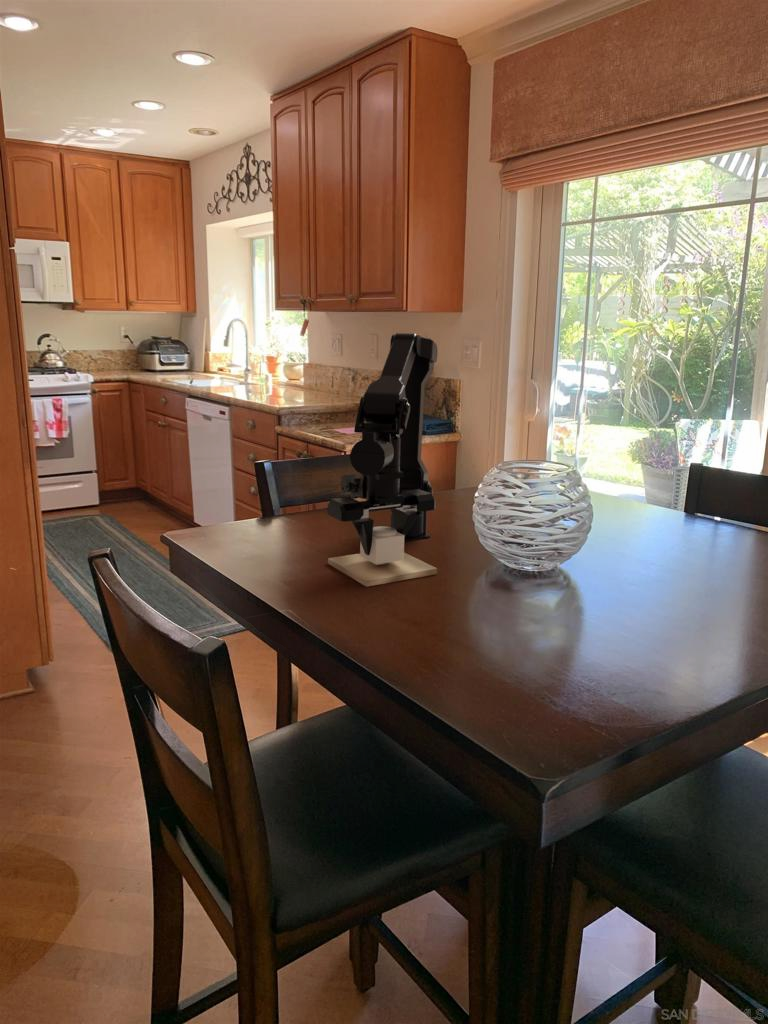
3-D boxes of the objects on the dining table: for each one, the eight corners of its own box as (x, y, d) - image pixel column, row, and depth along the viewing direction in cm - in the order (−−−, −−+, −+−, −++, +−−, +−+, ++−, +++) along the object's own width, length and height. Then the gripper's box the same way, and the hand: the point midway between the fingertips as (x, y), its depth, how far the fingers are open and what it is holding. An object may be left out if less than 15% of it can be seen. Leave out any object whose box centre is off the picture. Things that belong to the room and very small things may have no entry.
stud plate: (394, 553, 142) (395, 532, 141) (436, 573, 130) (437, 551, 129) (328, 563, 135) (328, 542, 134) (366, 586, 123) (366, 563, 122)
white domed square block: (387, 551, 136) (387, 524, 135) (403, 560, 131) (404, 531, 130) (360, 556, 133) (360, 528, 132) (376, 564, 128) (376, 535, 127)
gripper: (404, 453, 140) (402, 534, 143) (313, 461, 130) (313, 547, 134) (438, 463, 130) (435, 549, 134) (343, 472, 121) (342, 564, 125)
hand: (381, 552), depth 132 cm, fingers closed on white domed square block, 5 cm apart
